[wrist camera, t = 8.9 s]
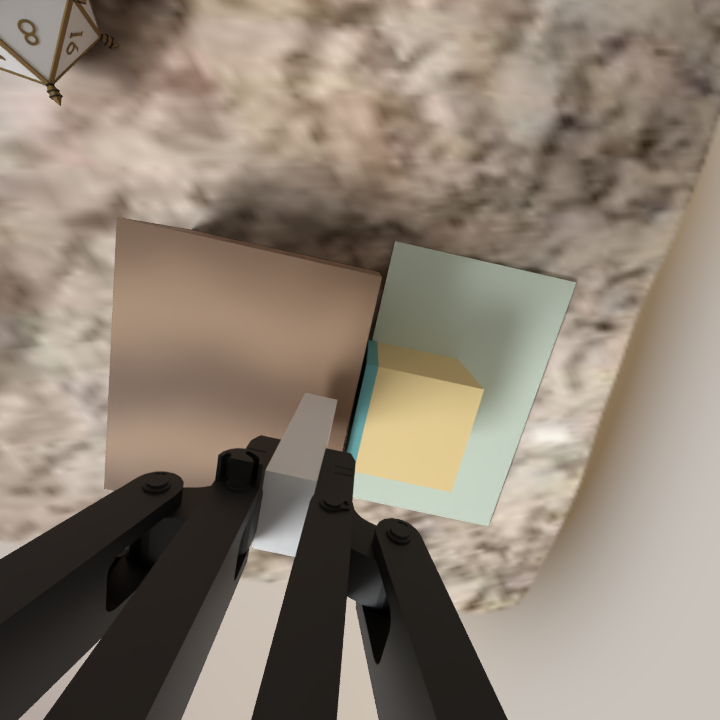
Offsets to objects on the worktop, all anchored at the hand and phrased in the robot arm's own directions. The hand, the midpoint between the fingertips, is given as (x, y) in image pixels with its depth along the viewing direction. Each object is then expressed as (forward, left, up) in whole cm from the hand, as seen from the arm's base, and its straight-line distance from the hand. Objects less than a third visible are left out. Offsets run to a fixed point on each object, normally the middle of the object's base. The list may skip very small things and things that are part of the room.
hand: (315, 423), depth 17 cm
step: (0, -5, -8) cm, 10 cm away
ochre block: (0, +2, -5) cm, 5 cm away
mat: (0, +8, -8) cm, 11 cm away
